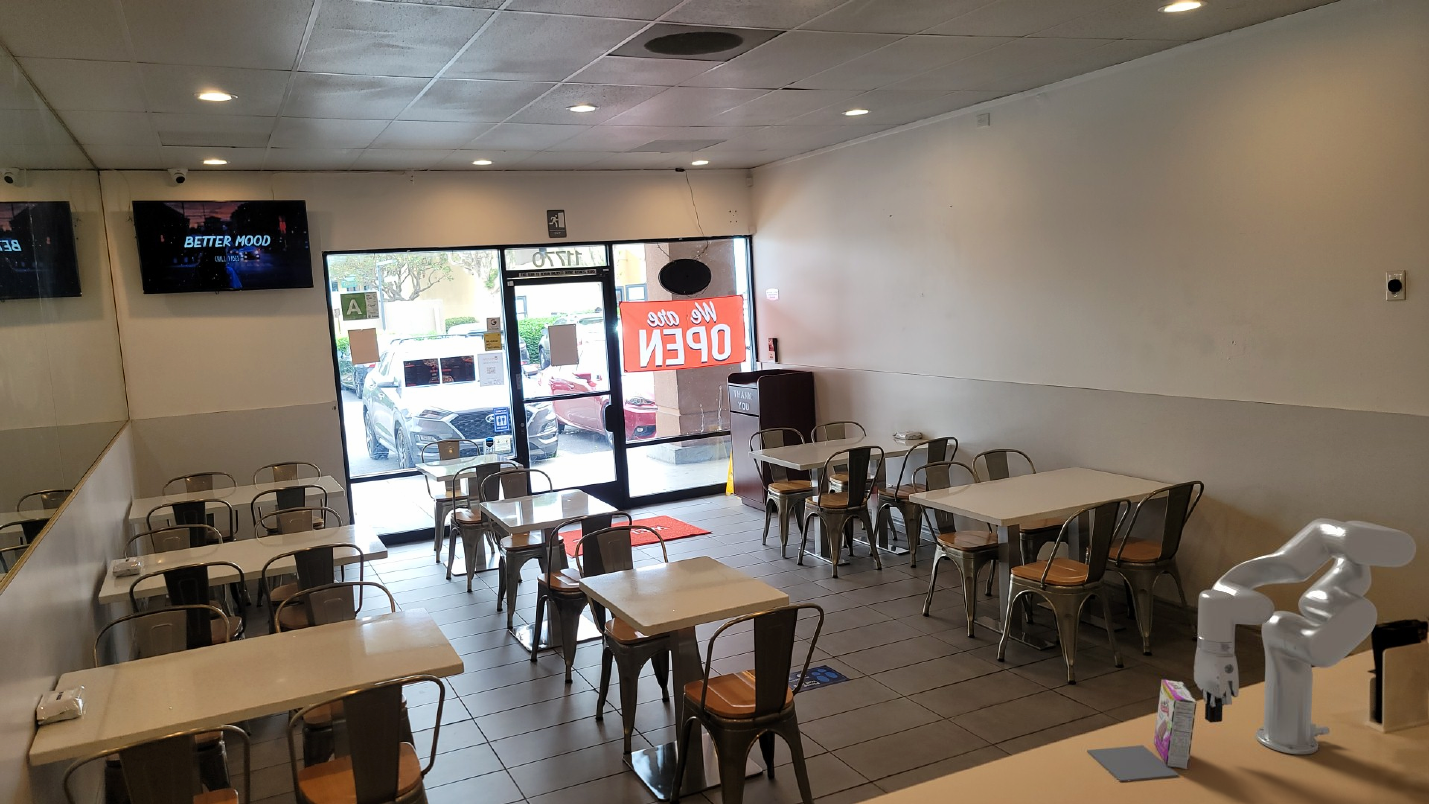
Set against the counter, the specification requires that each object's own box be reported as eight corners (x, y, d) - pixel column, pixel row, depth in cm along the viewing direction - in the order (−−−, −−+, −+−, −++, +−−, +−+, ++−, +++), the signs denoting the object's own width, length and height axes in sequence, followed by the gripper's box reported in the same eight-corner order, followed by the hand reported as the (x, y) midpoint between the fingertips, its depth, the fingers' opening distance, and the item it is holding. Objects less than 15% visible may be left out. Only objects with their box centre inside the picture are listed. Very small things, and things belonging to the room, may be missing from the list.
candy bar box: (1151, 743, 218) (1160, 678, 216) (1174, 747, 217) (1183, 681, 215) (1164, 766, 207) (1174, 698, 205) (1188, 770, 206) (1198, 701, 204)
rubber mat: (1142, 746, 218) (1142, 745, 218) (1178, 776, 204) (1178, 774, 204) (1087, 751, 216) (1087, 750, 216) (1119, 781, 202) (1119, 780, 202)
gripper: (1253, 655, 204) (1250, 734, 206) (1209, 632, 219) (1207, 705, 220) (1222, 657, 203) (1219, 736, 205) (1180, 634, 218) (1178, 708, 220)
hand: (1213, 720), depth 213 cm, fingers closed
